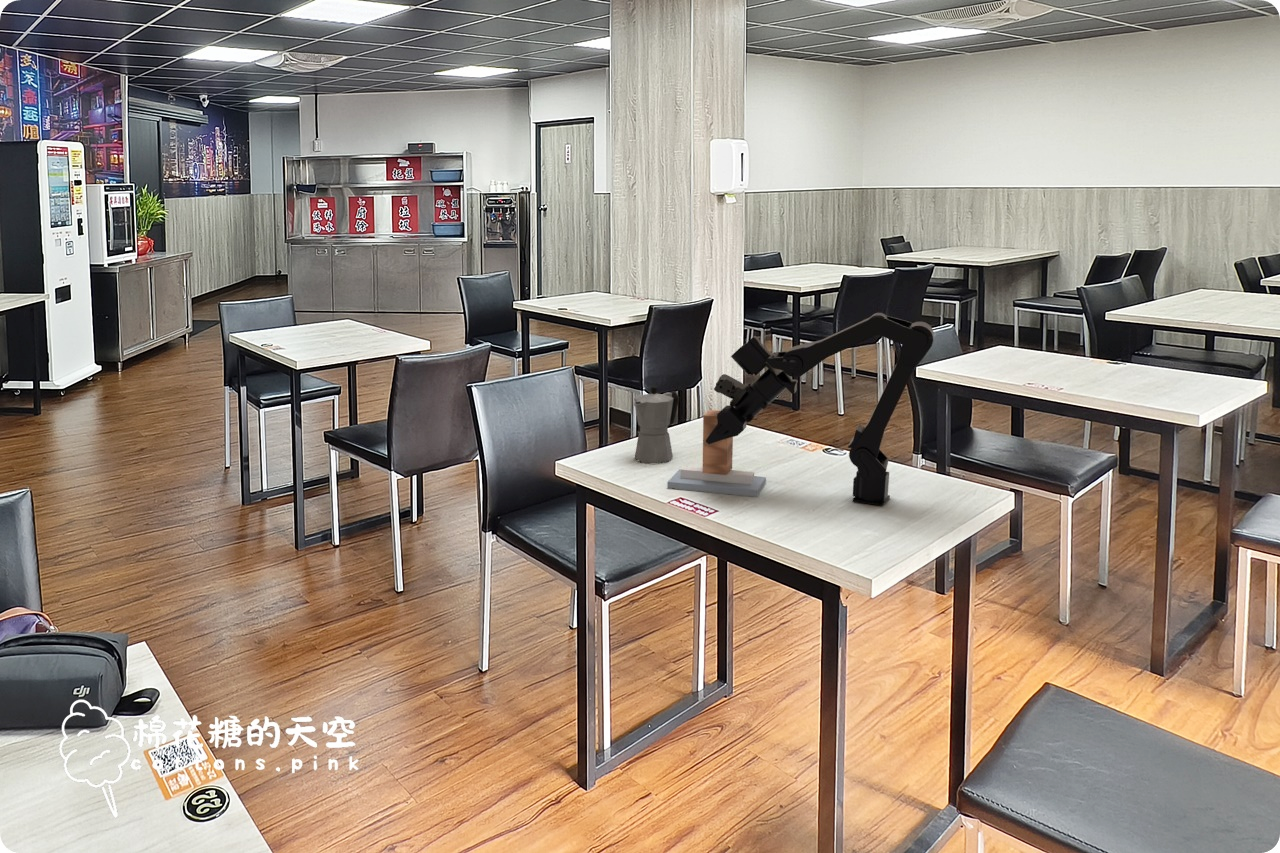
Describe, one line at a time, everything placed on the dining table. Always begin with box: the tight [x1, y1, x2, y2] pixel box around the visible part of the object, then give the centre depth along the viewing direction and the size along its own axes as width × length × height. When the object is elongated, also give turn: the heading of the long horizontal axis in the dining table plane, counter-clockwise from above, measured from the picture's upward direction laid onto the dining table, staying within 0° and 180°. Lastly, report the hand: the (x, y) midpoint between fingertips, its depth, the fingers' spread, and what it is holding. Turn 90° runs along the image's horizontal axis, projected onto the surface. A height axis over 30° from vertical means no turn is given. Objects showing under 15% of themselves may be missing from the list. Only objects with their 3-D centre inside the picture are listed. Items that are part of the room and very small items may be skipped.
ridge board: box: [666, 465, 767, 498], centre depth 223 cm, size 20×10×4 cm, turn 72°
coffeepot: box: [633, 385, 680, 464], centre depth 243 cm, size 15×9×18 cm, turn 137°
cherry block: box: [702, 409, 734, 475], centre depth 221 cm, size 5×5×13 cm
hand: (712, 437), depth 221 cm, fingers open, 9 cm apart
